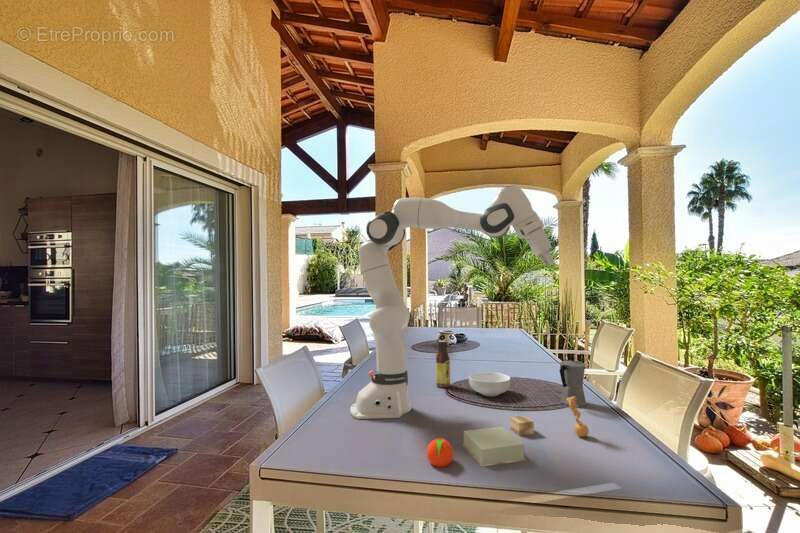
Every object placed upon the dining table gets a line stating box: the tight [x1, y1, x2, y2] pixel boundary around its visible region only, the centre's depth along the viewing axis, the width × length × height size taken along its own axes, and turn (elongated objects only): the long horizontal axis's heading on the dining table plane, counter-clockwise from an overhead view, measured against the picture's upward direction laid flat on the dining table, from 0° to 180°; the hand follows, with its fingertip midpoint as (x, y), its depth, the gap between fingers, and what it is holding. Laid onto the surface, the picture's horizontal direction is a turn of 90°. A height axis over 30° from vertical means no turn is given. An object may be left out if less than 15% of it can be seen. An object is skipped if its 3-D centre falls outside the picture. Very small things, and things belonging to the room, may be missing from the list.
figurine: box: [567, 396, 590, 438], centre depth 119 cm, size 8×6×12 cm
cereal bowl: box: [468, 371, 512, 397], centre depth 161 cm, size 17×17×7 cm
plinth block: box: [463, 426, 525, 465], centre depth 106 cm, size 12×12×4 cm
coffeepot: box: [559, 355, 587, 408], centre depth 147 cm, size 15×9×18 cm, turn 129°
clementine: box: [426, 437, 454, 468], centre depth 101 cm, size 8×7×7 cm
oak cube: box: [509, 415, 535, 437], centre depth 120 cm, size 5×5×5 cm
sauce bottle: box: [435, 340, 451, 389], centre depth 172 cm, size 7×6×20 cm
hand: (550, 264), depth 129 cm, fingers open, 8 cm apart
